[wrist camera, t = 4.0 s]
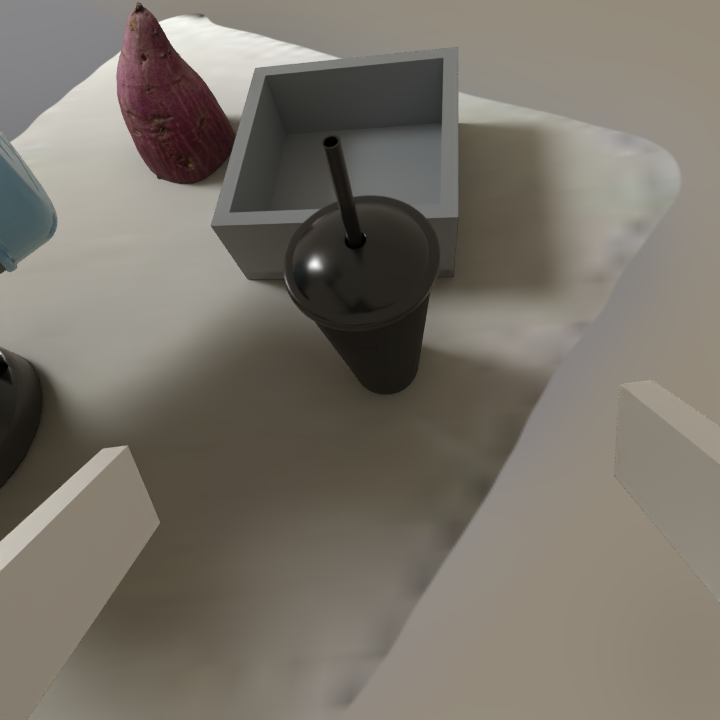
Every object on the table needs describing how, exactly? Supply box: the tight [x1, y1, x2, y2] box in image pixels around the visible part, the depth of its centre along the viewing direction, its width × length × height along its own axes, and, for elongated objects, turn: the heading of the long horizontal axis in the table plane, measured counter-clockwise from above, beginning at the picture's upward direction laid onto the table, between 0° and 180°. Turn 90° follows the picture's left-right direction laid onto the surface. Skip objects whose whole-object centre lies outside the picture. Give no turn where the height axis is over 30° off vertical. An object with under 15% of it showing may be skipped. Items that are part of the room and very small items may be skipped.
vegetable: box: [117, 2, 236, 184], centre depth 41 cm, size 10×10×15 cm
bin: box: [211, 47, 458, 279], centre depth 37 cm, size 18×18×7 cm
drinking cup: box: [283, 135, 440, 394], centre depth 24 cm, size 8×8×20 cm
